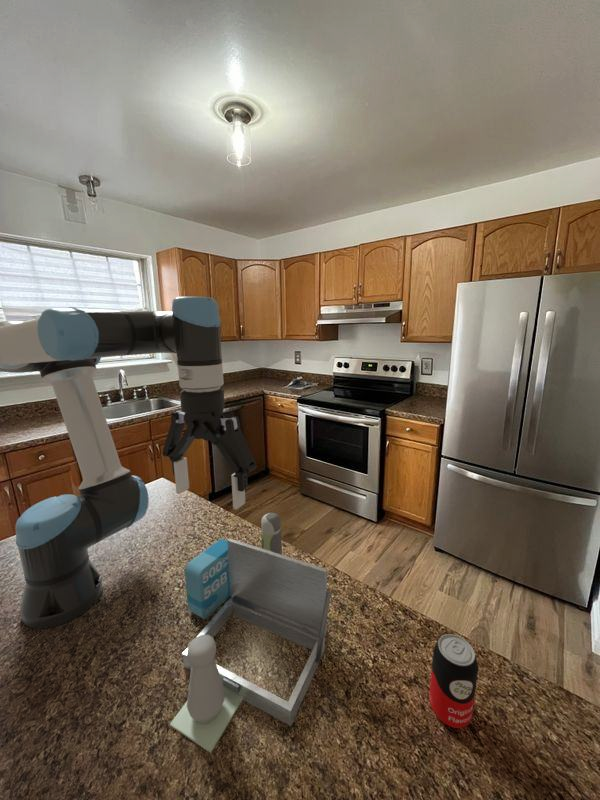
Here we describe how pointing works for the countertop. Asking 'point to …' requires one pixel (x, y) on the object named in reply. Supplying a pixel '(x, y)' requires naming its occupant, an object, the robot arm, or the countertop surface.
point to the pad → (214, 729)
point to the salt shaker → (204, 680)
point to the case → (274, 616)
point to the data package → (208, 579)
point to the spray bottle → (271, 533)
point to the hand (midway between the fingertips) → (209, 498)
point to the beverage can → (453, 681)
